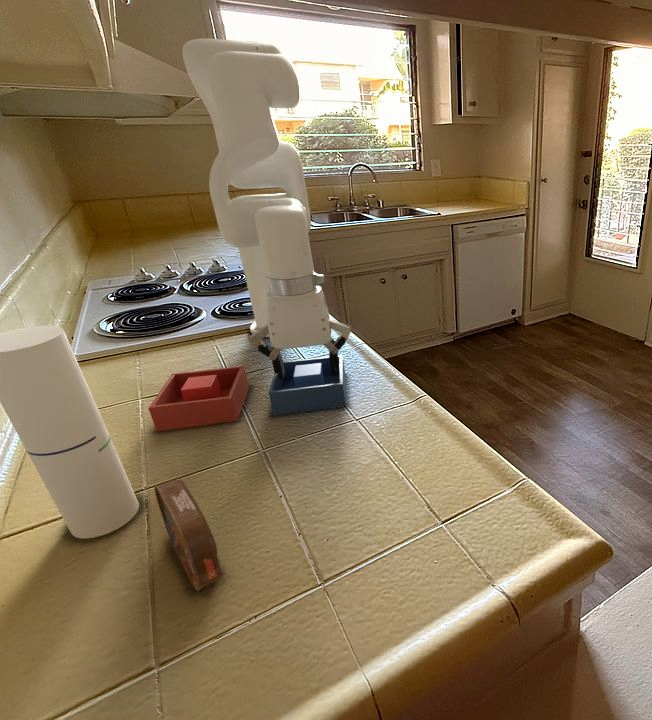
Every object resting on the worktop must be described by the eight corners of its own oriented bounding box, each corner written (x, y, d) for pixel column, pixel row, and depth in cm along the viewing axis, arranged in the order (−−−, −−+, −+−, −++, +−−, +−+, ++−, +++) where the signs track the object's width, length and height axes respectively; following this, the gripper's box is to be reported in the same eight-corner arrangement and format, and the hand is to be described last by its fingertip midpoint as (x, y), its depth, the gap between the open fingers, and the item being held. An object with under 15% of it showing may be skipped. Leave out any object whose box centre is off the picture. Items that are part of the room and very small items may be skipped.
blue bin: (281, 382, 91) (276, 362, 89) (345, 375, 94) (342, 354, 92) (273, 416, 80) (268, 393, 78) (346, 406, 83) (342, 384, 81)
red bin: (179, 395, 87) (171, 373, 85) (249, 386, 89) (244, 365, 87) (156, 431, 76) (147, 408, 74) (237, 420, 79) (231, 397, 77)
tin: (164, 528, 58) (143, 475, 54) (192, 515, 60) (173, 463, 56) (203, 608, 48) (180, 550, 44) (234, 589, 50) (215, 532, 46)
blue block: (299, 387, 88) (295, 365, 86) (324, 383, 89) (321, 362, 87) (297, 399, 84) (293, 376, 82) (324, 395, 85) (320, 373, 83)
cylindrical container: (56, 529, 57) (-46, 347, 46) (113, 491, 63) (35, 322, 52) (97, 544, 55) (0, 357, 44) (152, 504, 61) (79, 330, 50)
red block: (195, 399, 84) (188, 377, 82) (223, 396, 85) (216, 374, 83) (188, 413, 80) (180, 390, 78) (217, 409, 81) (210, 386, 79)
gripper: (345, 273, 83) (355, 358, 91) (240, 280, 79) (260, 369, 87) (346, 286, 77) (357, 377, 85) (231, 294, 72) (255, 389, 80)
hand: (308, 372), depth 86 cm, fingers open, 8 cm apart
